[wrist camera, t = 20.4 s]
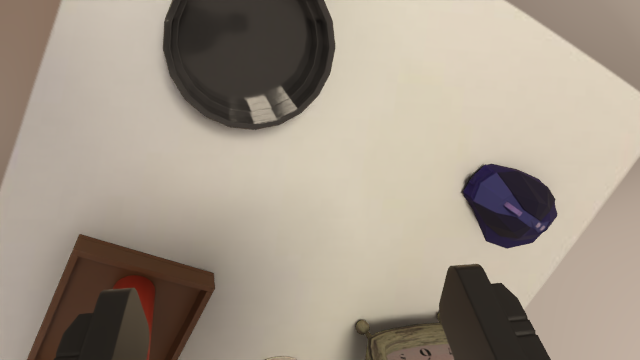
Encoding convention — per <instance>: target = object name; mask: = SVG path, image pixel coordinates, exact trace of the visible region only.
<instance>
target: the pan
mask: <svg viewBox="0 0 640 360" xmlns="http://www.w3.org/2000/svg"><path fill="white" fill-rule="evenodd" d="M163 51H164V54H165V58H166V62H167V66H168V70H169V74H170V76H171V78H172V80H173V81H174V83H175V84H176V86H177V88H178V89H179V91H180V92H181V94H182V96H183V97H184V99H185V100H186V101H187V102H189V103H190V104H191V105H192V106H193V107H194V108H196V109H197V110H198V111H199V112H200V113H202V114H203V115H204V116H205V117H207V118H209V119H212V120H214V121H216V122H219V123H221V124H223V125H226V126H228V127H233V128H243V129H252V130H254V129H255V130H256V129H261V128H266V127H271V126H276V125H280V124H282V123H284V122H285V121H287V120H289V119H291V118H293V117H295V116H297V115H299V114H300V113H302V112H303V111H304V110H305V109H306V108H307V107H308V106H309V105H310V104H311V103H312V102H313V101H314V99H315V98H316V97H317V96H318V95H319V94H320V92H321V90H322V88H323V86H324V84H325V82H326V80H327V78H328V77H329V75H330V72H331V67H332V62H333V57H334V52H335V40H334V30H333V21H332V18H331V16H330V13H329V11H328V9H327V6H326V4H325V2H324V0H172V2H171V5H170V7H169V10H168V12H167V15H166V17H165V23H164V39H163Z"/></svg>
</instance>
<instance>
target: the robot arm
mask: <svg viewBox="0 0 640 360" xmlns="http://www.w3.org/2000/svg"><path fill="white" fill-rule="evenodd" d="M439 313H440V320H441V324H442V327H443V330H444V333H445V335H446V338H447V341H448V344H449V346H450V349H451V352H452V355H453V357H454V360H551V359H550V357H549V356H548V354H547V352H546V350H545V348H544V346H543V344H542V343H541V341H540V339H539V337H538V335H536V334H535V330H534V328H533V326H532V324H531V322H530V320H528V319H527V315H526V313H525V311H524V309H523V308H522V306H521V304H520V302H519V300H518V298H517V297H516V296H515V295H513V294H512V293H511V292H510V291H509V290H508V289H507V288H506V287H505V286H504V285H503V284H502V283H495V284H491V283H490V281H489V279H488V277H487V275H486V273H485V271H484V269H483V268H482V267H481V266H480V265H479V264H471V265H457V266H450V267H449V268H448V271H447V275H446V279H445V283H444V287H443V291H442V295H441V299H440V303H439ZM148 349H149V326H148V322H147V319H146V316H145V313H144V310H143V307H142V304H141V301H140V298H139V295H138V292H137V290H136V289H135V288H123V289H109V290H103V291H101V293H100V294H99V297H98V300H97V303H96V306H95V309H94V312H93V313H85V314H79V315H78V316H77V317H76V319H75V320H74V321H73V322H72V323H71V325H70V326H69V327H68V328H67V329H66V331H65V332H64V333H63V336H62V338H61V341H60V344H59V346H58V349H57V352H56V358H54V360H146V359H147V354H148Z"/></svg>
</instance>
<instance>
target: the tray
mask: <svg viewBox="0 0 640 360" xmlns="http://www.w3.org/2000/svg"><path fill="white" fill-rule="evenodd" d="M131 275H138V276H143V277H145V278H147V279H149V280H150V281H151V282H152V283H153V285H154V287H155V301H154V311H153V322H152V332H151V343H150V353H149V360H177V359H178V357H179V355H180V354H181V352H182V350H183V348H184V346H185V344H186V342H187V340H188V338H189V337H190V335H191V333H192V331H193V329H194V327H195V325H196V323H197V321H198V320H199V318H200V316H201V314H202V312H203V310H204V308H205V306H206V304H207V302H208V301H209V299H210V297H211V295H212V293H213V291H214V289H215V283H214V273H211V272H208V271H204V270H201V269H198V268H194V267H191V266H187V265H184V264H180V263H177V262H173V261H170V260H167V259H163V258H160V257H156V256H153V255H149V254H146V253H143V252H139V251H136V250H132V249H129V248H125V247H122V246H119V245H115V244H112V243H108V242H105V241H101V240H98V239H95V238H91V237H88V236H84V235H81V234H79V236H78V239H77V241H76V244H75V246H74V248H73V251H72V253H71V255H70V258H69V260H68V263H67V265H66V267H65V270H64V272H63V275H62V277H61V279H60V282H59V284H58V287H57V289H56V291H55V294H54V296H53V299H52V301H51V303H50V306H49V308H48V310H47V313H46V315H45V318H44V320H43V322H42V325H41V327H40V330H39V332H38V334H37V337H36V339H35V342H34V344H33V346H32V349H31V351H30V354H29V356H28V358H27V360H54V358H56V352H57V349H58V346H59V344H60V341H61V338H62V336H63V333H64V332H65V331H66V329H67V328H68V327H69V326H70V325H71V323H72V322H73V321H74V320H75V319H76V317H77V316H78V315H79V314H85V313H93V312H94V309H95V306H96V303H97V300H98V297H99V294H100V293H101V291H103V290H109V289H113V287H114V285H115V284H116V282H117V281H119V280H120V279H122V278H124V277H126V276H131Z"/></svg>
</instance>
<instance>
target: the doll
mask: <svg viewBox="0 0 640 360" xmlns="http://www.w3.org/2000/svg"><path fill="white" fill-rule="evenodd" d="M123 288H135V289H136V290H137V292H138V295H139V298H140V301H141V304H142V307H143V310H144V313H145V316H146V319H147V322H148V326H149V349H148V354H147V359H146V360H149V353H150V343H151V332H152V322H153V311H154V301H155V287H154V285H153V283H152V282H151V281H150V280H149V279H147V278H145V277H143V276H138V275H131V276H126V277H124V278H122V279H120V280H119V281H117V282H116V284H115V285H114V287H113V289H123Z"/></svg>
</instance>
